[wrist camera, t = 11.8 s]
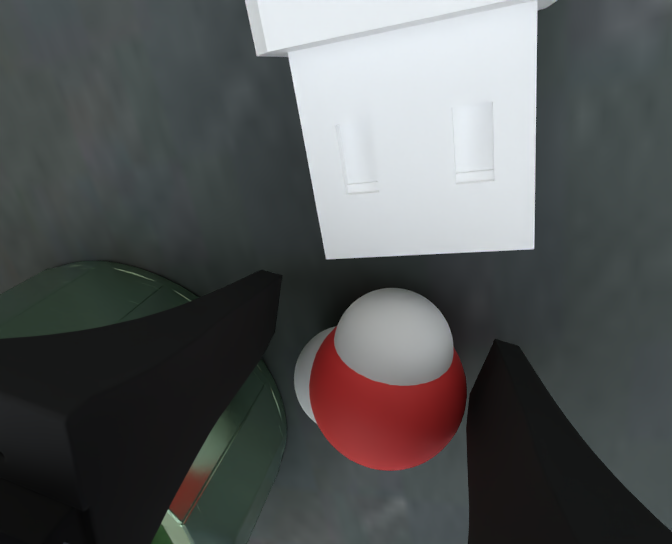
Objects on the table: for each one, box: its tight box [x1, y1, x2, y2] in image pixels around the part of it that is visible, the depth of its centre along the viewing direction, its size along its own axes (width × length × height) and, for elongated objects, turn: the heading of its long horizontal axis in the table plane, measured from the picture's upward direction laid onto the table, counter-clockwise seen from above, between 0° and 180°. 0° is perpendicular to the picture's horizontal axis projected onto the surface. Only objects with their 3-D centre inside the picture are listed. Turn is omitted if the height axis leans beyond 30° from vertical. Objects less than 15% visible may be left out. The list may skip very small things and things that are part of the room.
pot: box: [0, 261, 287, 544], centre depth 16 cm, size 12×12×6 cm
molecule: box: [294, 288, 467, 471], centre depth 12 cm, size 5×5×4 cm
